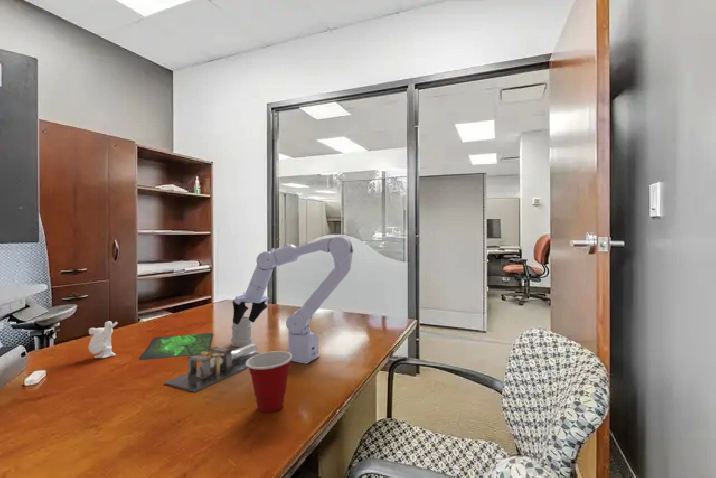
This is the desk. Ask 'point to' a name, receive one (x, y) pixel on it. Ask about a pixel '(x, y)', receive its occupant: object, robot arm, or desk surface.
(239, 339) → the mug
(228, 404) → the desk surface
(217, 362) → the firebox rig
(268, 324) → the desk surface
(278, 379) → the plastic cup
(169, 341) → the mouse mat
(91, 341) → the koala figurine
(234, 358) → the tube
